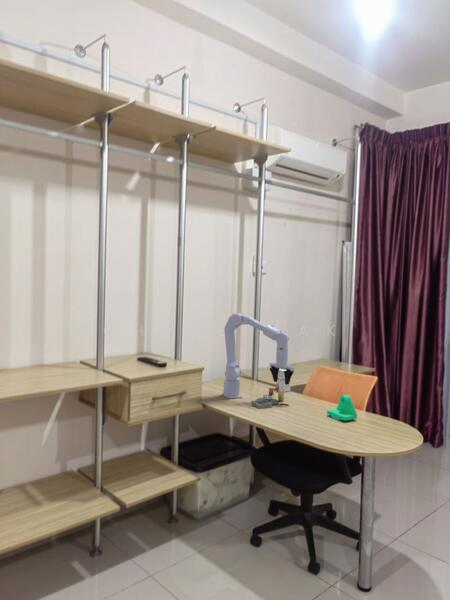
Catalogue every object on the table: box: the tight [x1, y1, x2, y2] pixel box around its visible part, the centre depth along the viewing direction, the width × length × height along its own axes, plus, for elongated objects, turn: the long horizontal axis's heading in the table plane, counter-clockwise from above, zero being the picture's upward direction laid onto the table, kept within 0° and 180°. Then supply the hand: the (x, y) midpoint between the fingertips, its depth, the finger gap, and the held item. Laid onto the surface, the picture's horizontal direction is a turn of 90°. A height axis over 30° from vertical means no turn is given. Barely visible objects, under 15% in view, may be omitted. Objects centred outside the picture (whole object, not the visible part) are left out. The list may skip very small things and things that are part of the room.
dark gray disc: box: [255, 397, 279, 406], centre depth 244 cm, size 11×11×1 cm
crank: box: [262, 387, 275, 401], centre depth 246 cm, size 10×4×4 cm, turn 158°
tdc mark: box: [279, 402, 290, 406], centre depth 240 cm, size 4×1×1 cm, turn 68°
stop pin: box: [277, 389, 285, 403], centre depth 246 cm, size 3×3×6 cm
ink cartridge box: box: [275, 363, 292, 393], centre depth 271 cm, size 9×5×15 cm, turn 22°
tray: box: [251, 399, 273, 409], centre depth 237 cm, size 7×7×2 cm
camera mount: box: [326, 394, 358, 421], centre depth 220 cm, size 12×8×10 cm, turn 30°
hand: (281, 383), depth 246 cm, fingers open, 7 cm apart
